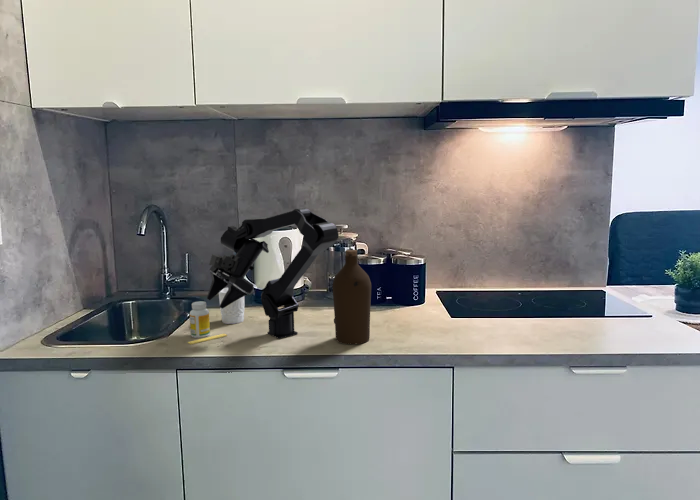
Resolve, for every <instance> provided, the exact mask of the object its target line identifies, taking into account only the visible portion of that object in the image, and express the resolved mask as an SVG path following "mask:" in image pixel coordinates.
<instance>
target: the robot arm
mask: <svg viewBox="0 0 700 500" xmlns="http://www.w3.org/2000/svg"><path fill="white" fill-rule="evenodd" d="M293 226H296V227H297V229H298V232H299V233H300V234H301V235H302V236H303V238H302V247H301V248H300V250H299V251H298V252H297V254H296V255H295V256H294V258H293V259H292V260H291V262H290V263H289V264H288V266H287V268H286V269H285V271H284V272H283V273H282V275H281V276H280V277H278V278H275V279H271V280H268V281H267V282H266V285H265V287H264V288H262V289H261V291H262V292H261V294H260V300H261V304H262V308H263V312H264V314H265V315H264V316H266V317H268V318H269V319H268V331H267V335H269V336H271V337H274V338H276V339H279V340H280V339H283V338H287V337H291V336H295V335H296V336H297V335H298V334H299V333H298V331H296V330H295V312H297V311H298V309H299V306H300V305H299V303H298V302H297V300H296V299H295V297H294V294H295V286H296V285H297V284H298V283H299V281H300V280H301V278H303V276H304V275H305V273H306V271H308V269H309V268H310V266H311V265H313V264H312V263H313V262H314V261H315V259H316V258H317V257H318V256H319V254H321V253H323V252H324V251H326V250H327V249H329V248H330V247H332V245H333V244H335V243H336V242H337V240H338V239H339V230H338V227H337V225H336V224H334V222H331V221H329V220H327V219H326V218H324V217H323V216H320V215H318V214H316V213H314V212H313V211H312V210H311V209H309V208H306V207H302V208H295V209H293V210H292V211H287V212H284V213H281V214H280V213H279V214H277V215H273V216H269V217H256V218H248V219H244V220H243V221H241V225H240V226H239V227H238V228H237V227H236V226H235V225H229V226H227V230H225V231H224V232H223V233H222V235H221V237H220V244H221V245H222V246H223V247H225V249H226V248H227V249H228V250H230V251H232V252H234V253H235V254H230V256H228V255H226V254H224V255H219V254H213V253H212V254H211V256H210V259H209V264H208V265H209V266H210V268H209V271H210V272H209V274H210V277H211V284H210V287H209V289H208V292H207V293H208V294H207V296H206V299H207V300H209V301H211V300H212V299H213V298H215V297H216V295H219V292H220V291H221V290H222V289H224V288H228V291H227V293H226V295H225V296H224V298H223V300H222V302H221V304H220V303H219V308H222V309H223V308H225V307H226V306H228V305H229V304H231V303H233V302H234V301H236V300H238V299H240V298H241V297H243V296H244V297H245V296H248V295H251V294H252V293H253V292H254V290H255V285H254V284H253V283H251V281H249V280H247V279H246V278H245V277H246V275H247V274H248V272H249V271H253V270H254V268H255V267H254V266H253V265H254V263H255V262H256V260H257V259H258V257H259V256H260V255H261V253H262V252H265V253H267V254H269V252H270V250H269V247H268V246H269V244H268V243H267V242H266V241H264V240H263V241H259V240H257V239H259V238H260V239H261V238H264V237H267V236H269V235H271V234H272V233H273V232H274V231H276V230H279V229H284V228H288V227H293ZM280 307H281V308H280Z"/></svg>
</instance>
